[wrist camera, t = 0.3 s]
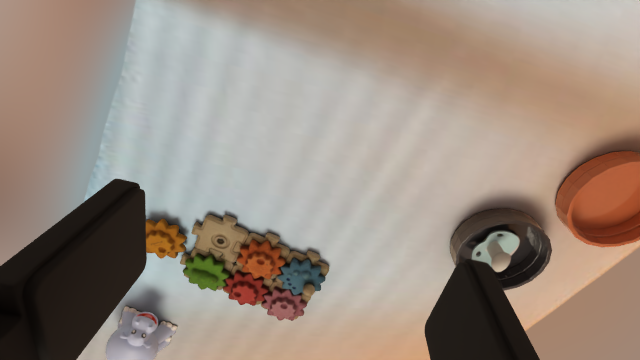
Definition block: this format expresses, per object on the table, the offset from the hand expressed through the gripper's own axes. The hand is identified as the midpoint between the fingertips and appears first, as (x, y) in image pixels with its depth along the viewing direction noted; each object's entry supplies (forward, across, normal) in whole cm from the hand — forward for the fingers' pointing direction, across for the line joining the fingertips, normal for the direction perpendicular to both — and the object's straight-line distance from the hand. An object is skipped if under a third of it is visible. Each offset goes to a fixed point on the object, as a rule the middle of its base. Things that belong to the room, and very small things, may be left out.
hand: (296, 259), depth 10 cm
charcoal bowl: (+37, -30, +20) cm, 51 cm away
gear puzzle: (+37, +10, +35) cm, 51 cm away
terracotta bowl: (+36, -40, +8) cm, 55 cm away
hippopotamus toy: (+37, +24, +56) cm, 71 cm away
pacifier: (+36, -30, +20) cm, 51 cm away
